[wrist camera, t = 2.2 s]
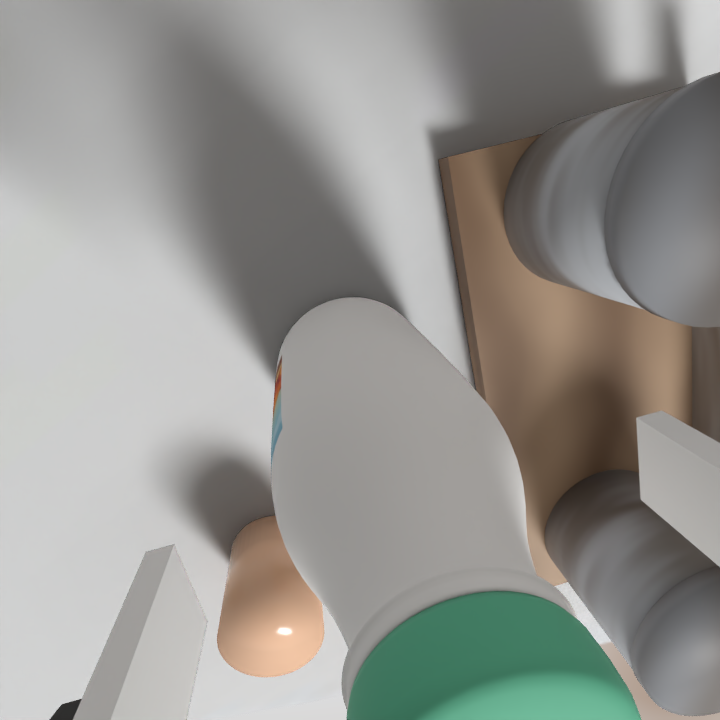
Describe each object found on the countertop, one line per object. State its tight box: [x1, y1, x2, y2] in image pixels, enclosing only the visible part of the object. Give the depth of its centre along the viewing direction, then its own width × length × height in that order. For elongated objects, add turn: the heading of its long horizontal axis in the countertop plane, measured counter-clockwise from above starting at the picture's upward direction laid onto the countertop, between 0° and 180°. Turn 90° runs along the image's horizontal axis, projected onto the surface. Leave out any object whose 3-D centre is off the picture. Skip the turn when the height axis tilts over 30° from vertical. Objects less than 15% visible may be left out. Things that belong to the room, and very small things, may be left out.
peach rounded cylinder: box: [217, 516, 324, 677], centre depth 26 cm, size 5×5×6 cm
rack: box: [438, 72, 720, 716], centre depth 23 cm, size 13×27×10 cm, turn 13°
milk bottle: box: [271, 297, 641, 720], centre depth 17 cm, size 8×8×20 cm
